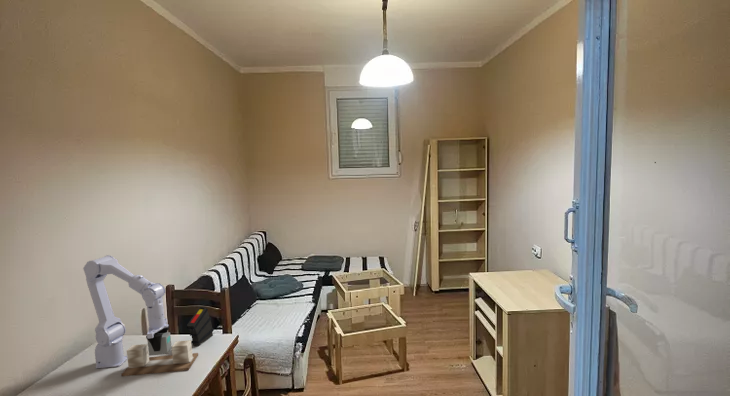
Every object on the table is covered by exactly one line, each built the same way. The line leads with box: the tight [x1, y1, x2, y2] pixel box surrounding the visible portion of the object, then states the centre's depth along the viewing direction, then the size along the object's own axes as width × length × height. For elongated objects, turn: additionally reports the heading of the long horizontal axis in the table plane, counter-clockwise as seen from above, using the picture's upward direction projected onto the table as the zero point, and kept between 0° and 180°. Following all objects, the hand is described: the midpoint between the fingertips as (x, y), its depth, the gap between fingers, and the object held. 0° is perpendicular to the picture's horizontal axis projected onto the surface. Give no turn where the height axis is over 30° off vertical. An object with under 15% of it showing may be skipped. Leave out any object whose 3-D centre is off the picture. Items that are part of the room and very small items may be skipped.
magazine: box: [186, 306, 215, 347], centre depth 183 cm, size 4×13×15 cm, turn 166°
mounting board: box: [120, 339, 199, 377], centre depth 163 cm, size 25×12×8 cm, turn 95°
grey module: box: [146, 331, 173, 357], centre depth 163 cm, size 7×4×7 cm, turn 95°
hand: (159, 347), depth 163 cm, fingers closed on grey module, 4 cm apart
